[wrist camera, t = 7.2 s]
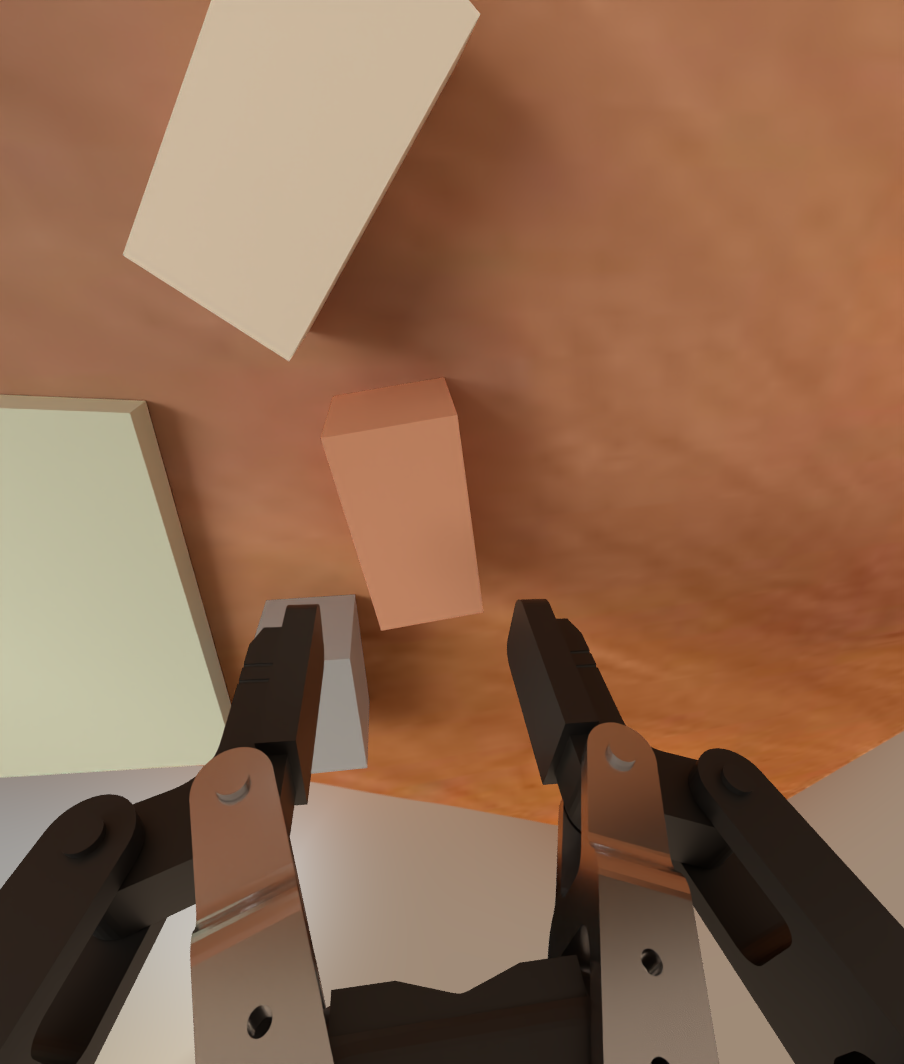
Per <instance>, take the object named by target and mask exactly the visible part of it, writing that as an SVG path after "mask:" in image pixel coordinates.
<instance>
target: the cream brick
mask: <svg viewBox="0 0 904 1064" xmlns="http://www.w3.org/2000/svg"><path fill="white" fill-rule="evenodd" d="M479 16H480V13H479V12H478V10H477V9H476V8H475V7H474V6H473V5H472V3H471V2H470V1H469V0H211V3H210V6H209V8H208V11H207V14H206V17H205V20H204V23H203V26H202V29H201V31H200V34H199V37H198V40H197V43H196V46H195V49H194V51H193V54H192V57H191V60H190V63H189V66H188V69H187V72H186V74H185V77H184V80H183V83H182V86H181V89H180V92H179V95H178V97H177V100H176V103H175V106H174V109H173V112H172V115H171V118H170V120H169V123H168V126H167V129H166V132H165V135H164V138H163V141H162V143H161V146H160V149H159V152H158V155H157V158H156V161H155V164H154V166H153V169H152V172H151V175H150V178H149V181H148V184H147V187H146V189H145V192H144V195H143V198H142V201H141V204H140V207H139V210H138V212H137V215H136V218H135V221H134V224H133V227H132V230H131V233H130V235H129V238H128V241H127V244H126V247H125V250H124V253H123V256H125V257H126V258H128V259H129V260H131V261H132V262H134V263H136V264H137V265H139V266H140V267H142V268H143V269H145V270H147V271H148V272H150V273H151V274H153V275H154V276H156V277H157V278H159V279H161V280H162V281H164V282H165V283H167V284H168V285H170V286H172V287H173V288H175V289H176V290H178V291H179V292H181V293H183V294H184V295H186V296H187V297H189V298H190V299H192V300H193V301H195V302H197V303H198V304H200V305H201V306H203V307H204V308H206V309H208V310H209V311H211V312H212V313H214V314H215V315H217V316H219V317H220V318H222V319H223V320H225V321H226V322H228V323H230V324H231V325H233V326H234V327H236V328H237V329H239V330H240V331H242V332H244V333H245V334H247V335H248V336H250V337H251V338H253V339H255V340H256V341H258V342H259V343H261V344H262V345H264V346H266V347H267V348H269V349H270V350H272V351H273V352H275V353H277V354H278V355H280V356H281V357H283V358H284V359H286V360H287V361H290V360H291V358H292V357H293V355H294V353H295V352H296V350H297V349H298V347H299V346H300V344H301V343H302V341H303V340H304V338H305V337H306V335H307V334H308V332H309V330H310V329H311V327H312V325H313V323H314V321H315V320H316V318H317V316H318V314H319V312H320V311H321V309H322V307H323V305H324V303H325V302H326V300H327V298H328V296H329V294H330V293H331V291H332V289H333V287H334V285H335V284H336V282H337V280H338V278H339V276H340V274H341V273H342V271H343V269H344V267H345V265H346V264H347V262H348V260H349V258H350V256H351V255H352V253H353V251H354V249H355V247H356V246H357V244H358V242H359V240H360V238H361V237H362V235H363V233H364V231H365V229H366V227H367V226H368V224H369V222H370V220H371V218H372V217H373V215H374V213H375V211H376V209H377V208H378V206H379V204H380V202H381V200H382V199H383V197H384V195H385V193H386V191H387V190H388V188H389V186H390V184H391V182H392V181H393V179H394V177H395V175H396V173H397V171H398V170H399V168H400V166H401V164H402V162H403V161H404V159H405V157H406V155H407V153H408V152H409V150H410V148H411V146H412V144H413V143H414V141H415V139H416V137H417V135H418V134H419V132H420V130H421V128H422V126H423V125H424V123H425V121H426V119H427V117H428V115H429V114H430V112H431V110H432V108H433V106H434V105H435V103H436V101H437V99H438V97H439V96H440V94H441V92H442V90H443V88H444V87H445V85H446V83H447V81H448V79H449V78H450V76H451V74H452V72H453V70H454V69H455V67H456V65H457V63H458V61H459V58H460V56H461V54H462V52H463V50H464V48H465V46H466V44H467V42H468V39H469V37H470V35H471V33H472V31H473V29H474V27H475V25H476V22H477V20H478V18H479Z"/></svg>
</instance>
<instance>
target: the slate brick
mask: <svg viewBox="0 0 904 1064" xmlns="http://www.w3.org/2000/svg"><path fill="white" fill-rule="evenodd" d="M301 604H319V606H320V612H321V621H322V631H323V641H324V672H323V680H322V688H321V696H320V705H319V713H318V721H317V729H316V737H315V745H314V754H313V762H312V770H311V774H312V773H322V772H331V771H341V770H351V769H360V768H367V761H368V732H369V703H370V701H369V694H368V687H367V679H366V672H365V664H364V657H363V649H362V642H361V635H360V627H359V620H358V612H357V605H356V597H355V594H354V595H339V596H324V597H308V598H293V599H278V600H266V603H265V606H264V609H263V612H262V616H261V619H260V622H259V625H258V628H257V632H256V635H255V637H256V636H257V635H258V634H259V633H260V631H261V630H262V629H263V628H264V627H282V623H283V619H284V615H285V610H286V607H287V605H301ZM254 639H255V638H254Z"/></svg>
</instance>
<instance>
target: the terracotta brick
mask: <svg viewBox="0 0 904 1064" xmlns="http://www.w3.org/2000/svg"><path fill="white" fill-rule="evenodd" d="M320 439H321V442H322V445H323V448H324V451H325V454H326V458H327V461H328V464H329V467H330V470H331V473H332V476H333V480H334V483H335V486H336V489H337V492H338V495H339V499H340V502H341V505H342V508H343V511H344V514H345V518H346V521H347V524H348V527H349V530H350V533H351V537H352V540H353V543H354V546H355V549H356V552H357V556H358V559H359V562H360V565H361V568H362V571H363V575H364V578H365V581H366V584H367V587H368V590H369V593H370V597H371V600H372V603H373V606H374V609H375V612H376V616H377V619H378V622H379V625H380V628H381V631H383V630H388V629H394V628H399V627H405V626H410V625H416V624H421V623H427V622H433V621H438V620H444V619H449V618H455V617H460V616H466V615H471V614H477V613H482V612H483V605H482V597H481V590H480V582H479V574H478V567H477V559H476V552H475V544H474V537H473V529H472V521H471V514H470V506H469V499H468V491H467V484H466V476H465V468H464V461H463V453H462V446H461V438H460V431H459V423H458V415H457V412H456V409H455V407H454V404H453V401H452V398H451V395H450V392H449V390H448V387H447V384H446V381H445V378H444V377H442V378H436V379H430V380H424V381H418V382H412V383H407V384H401V385H395V386H389V387H383V388H377V389H372V390H366V391H360V392H354V393H348V394H342V395H337V396H333V398H332V401H331V404H330V408H329V411H328V415H327V418H326V421H325V425H324V428H323V431H322V435H321V438H320Z"/></svg>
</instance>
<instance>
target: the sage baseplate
mask: <svg viewBox="0 0 904 1064" xmlns="http://www.w3.org/2000/svg"><path fill="white" fill-rule="evenodd" d="M230 708H231V703H230V699H229V696H228V692H227V689H226V685H225V681H224V678H223V674H222V671H221V667H220V664H219V660H218V656H217V653H216V649H215V646H214V642H213V639H212V635H211V632H210V628H209V624H208V621H207V617H206V614H205V610H204V607H203V603H202V599H201V596H200V592H199V589H198V585H197V582H196V578H195V575H194V571H193V567H192V564H191V560H190V557H189V553H188V550H187V546H186V543H185V539H184V535H183V532H182V528H181V525H180V521H179V518H178V514H177V510H176V507H175V503H174V500H173V496H172V493H171V489H170V486H169V482H168V478H167V475H166V471H165V468H164V464H163V461H162V457H161V453H160V450H159V446H158V443H157V439H156V436H155V432H154V429H153V425H152V421H151V418H150V414H149V411H148V407H147V404H146V401H140V400H116V399H93V398H69V397H46V396H22V395H0V778H1V777H18V776H34V775H50V774H66V773H82V772H98V771H115V770H131V769H146V768H162V767H179V766H195V765H206V764H207V763H208V762H209V761H210V760H211V759H213V757H214V756H215V754H216V752H217V750H218V747H219V745H220V741H221V738H222V735H223V731H224V728H225V725H226V721H227V718H228V715H229V711H230Z"/></svg>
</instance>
